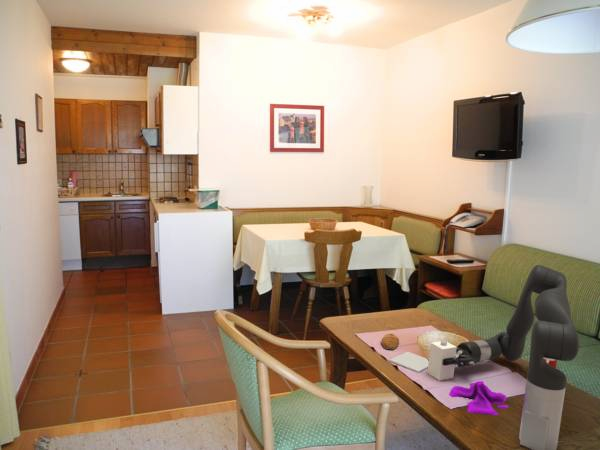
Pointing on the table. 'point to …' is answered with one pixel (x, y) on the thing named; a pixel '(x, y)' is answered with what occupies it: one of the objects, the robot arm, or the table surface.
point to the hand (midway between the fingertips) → (436, 358)
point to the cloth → (480, 398)
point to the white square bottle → (441, 360)
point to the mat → (411, 361)
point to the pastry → (390, 341)
